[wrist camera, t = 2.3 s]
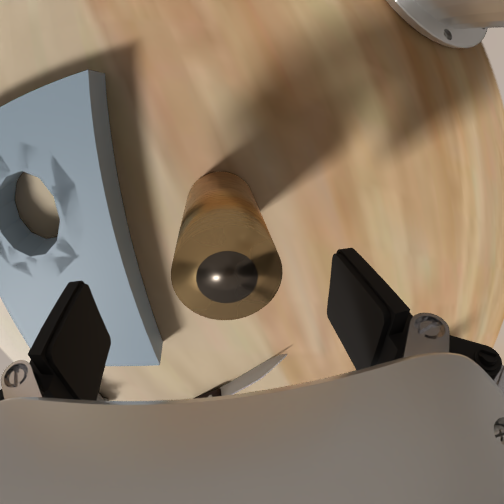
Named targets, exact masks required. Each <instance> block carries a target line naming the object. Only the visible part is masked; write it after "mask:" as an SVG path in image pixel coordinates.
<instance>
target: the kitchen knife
mask: <svg viewBox="0 0 504 504" xmlns="http://www.w3.org/2000/svg"><path fill="white" fill-rule="evenodd" d="M286 356H287V354H282V355H279V356H276V357H273V358H271V359H269V360H267V361H265V362H263V363H261V364H260V365H258V366H256V367H255V368H253V369H251V370H250V371H248V372H246V373H245V374H243V375H241V376H240V377H238V378H236V379H234V380H233V381H231V382H229V383H227V384H225V385H223V386H221V387H220V388H219V389H216V390H213V391H211V392H208V393H206V394H203V395H200V396H198V397H196V398H207V397H217V396H226V395H233V394H235V393H237V392H238V391H240V390H242V389H244V388H246V387H248V386H249V385H251V384H253V383H255V382H256V381H258V380H260V379H261V378H263V377H264V376H265V375H266V374H267V373H269V372H270V371H271V370H272V369H273V368H274V367H275V366H276V365H277V364H278V363H280V362H281V361H282V360H283V359H284V358H285V357H286ZM196 398H194V399H196Z"/></svg>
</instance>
